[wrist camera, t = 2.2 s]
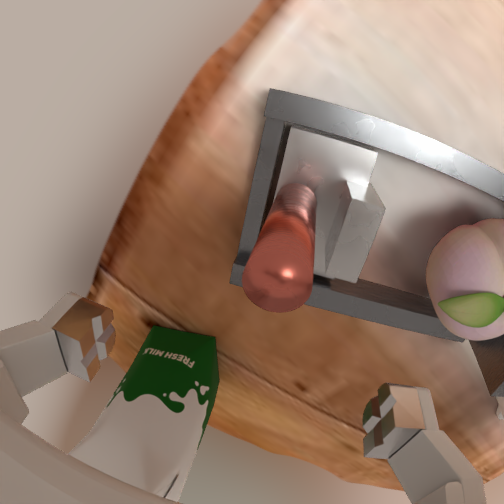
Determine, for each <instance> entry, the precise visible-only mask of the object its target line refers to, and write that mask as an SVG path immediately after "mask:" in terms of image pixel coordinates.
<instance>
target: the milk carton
mask: <svg viewBox="0 0 504 504" xmlns="http://www.w3.org/2000/svg"><path fill="white" fill-rule="evenodd" d="M218 385H219V372H218V361H217V351H216V339H215V337H212V336H206V335H200V334H195V333H189V332H184V331H179V330H174V329H168V328H163V327H159V326H153V327H152V329H151V331H150V333H149V334H148V336H147V338H146V340H145V342H144V343H143V345H142V347H141V349H140V351H139V352H138V354H137V356H136V358H135V360H134V362H133V363H132V365H131V367H130V369H129V370H128V372H127V373H126V375H125V376H124V378H123V380H122V381H121V383H120V384H119V386H118V388H117V389H116V391H115V392H114V394H113V396H112V397H111V399H110V400H109V402H108V404H107V405H106V407H105V409H104V410H103V412H102V414H101V415H100V417H99V418H98V420H97V422H96V423H95V425H94V426H93V428H92V430H91V431H90V432H89V433H88V434H87V435H86V436H85V437H84V438H83V439H82V441H80V442H79V443H78V444H77V446H76V447H75V448H74V449H73V450H71V452H70V453H68V454H69V455H71V456H72V457H74V458H76V459H78V460H80V461H82V462H83V463H85V464H87V465H89V466H91V467H93V468H95V469H97V470H99V471H101V472H103V473H105V474H108V475H110V476H112V477H114V478H116V479H118V480H121V481H123V482H125V483H128V484H130V485H132V486H135V487H137V488H140V489H142V490H145V491H148V492H150V493H153V494H156V495H158V496H161V497H164V498H167V499H170V500H173V501H176V502H178V500H179V498H180V495H181V492H182V490H183V487H184V484H185V482H186V479H187V477H188V474H189V471H190V469H191V466H192V463H193V461H194V458H195V455H196V453H197V450H198V447H199V445H200V442H201V439H202V436H203V434H204V431H205V428H206V425H207V423H208V420H209V417H210V414H211V411H212V409H213V406H214V402H215V398H216V393H217V389H218Z"/></svg>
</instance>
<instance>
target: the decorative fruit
mask: <svg viewBox="0 0 504 504" xmlns="http://www.w3.org/2000/svg"><path fill="white" fill-rule="evenodd" d="M426 284H427V288H428V292H429V295H430V298H431V301H432V304H433V307H434V309H435V312H436V314H437V316H438V318H439V320H440V321H441V323H442V324H443V325H444V326H445V327H446V328H447V329H448V330H449V331H450V332H452V333H453V334H455V335H457V336H459V337H461V338H464V339H468V340H474V341H480V340H488V339H492V338H496V337H498V336H501V335H503V334H504V219H494V218H490V219H484V220H481V221H479V222H477V223H475V224H474V225H460V226H458V227H456V228H454V229H453V230H451V231H450V232H449V233H447V234H446V235H445V236H444V237H443V238H442V239H441V240H440V241H439V242H438V243H437V245H436V246H435V247H434V249H433V250H432V252H431V254H430V256H429V259H428V262H427V267H426Z"/></svg>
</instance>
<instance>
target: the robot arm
mask: <svg viewBox="0 0 504 504" xmlns="http://www.w3.org/2000/svg"><path fill="white" fill-rule="evenodd" d="M113 319H114V317H113V310H111V309H110V308H108V307H105V306H103V305H101V304H98V303H96V302H94V301H91V300H89V299H87V298H84V297H82V296H79V295H77V294H75V293H73V292H70V293H67V294H66V295H64V297H62V298H61V299H60V300H59V302H57V303H56V304H55V305H54V307H52V308H51V309H50V310H49V311H48V312H47V313H46V314H45V315H44V316H43V318H41V319H40V320H39V321H36V320H33V321H30V322H27V323H24V324H21V325H17V326H14V327H11V328H8V329H5V330H2V331H0V504H182V503H179V502H176V501H173V500H170V499H167V498H164V497H161V496H158V495H156V494H153V493H150V492H148V491H145V490H142V489H140V488H137V487H135V486H132V485H130V484H128V483H125V482H123V481H121V480H118V479H116V478H114V477H112V476H110V475H108V474H105V473H103V472H101V471H99V470H97V469H95V468H93V467H91V466H89V465H87V464H85V463H83V462H82V461H80V460H78V459H76V458H74V457H72V456H71V455H69V454H67V453H65V452H63V451H62V450H60V449H58V448H57V447H55V446H53V445H52V444H50V443H48V442H47V441H45V440H44V439H42V438H41V437H39V436H37V435H36V434H34V433H33V432H31V431H30V430H28V429H27V428H26V427H24V426H23V425H21V424H22V423H23V421H24V419H25V418H26V417H27V415H28V413H29V409H28V407H27V405H26V404H25V402H24V400H23V399H22V397H23V396H25V395H27V394H29V393H31V392H32V391H34V390H36V389H38V388H40V387H42V386H44V385H46V384H48V383H50V382H52V381H54V380H56V379H58V378H60V377H61V376H63V375H65V374H67V372H69V373H71V374H73V375H75V376H77V377H79V378H82V379H84V380H86V381H88V382H91V380H92V379H93V377H94V376H95V375H96V373H97V372H98V370H99V369H100V360H102V359H104V358H107V357H108V356H109V354H110V352H111V351H112V348H113V346H114V343H115V336H116V335H115V329H114V327H113V326H112V325H111V322H112V320H113ZM496 399H497V402H498V408H497V411H496V415H497V417H498V419H499V420H502V419H504V397H496ZM363 428H364V429H365V430H366V432H367V433H368V434H367V435H366V436H365V437H364V439H363V443H364V457H369V458H380V459H388V462H389V464H390V466H391V468H392V469H393V471H394V473H395V475H396V476H397V478H398V480H399V482H400V483H401V485H402V487H403V489H404V491H405V492H406V494H407V496H408V498H409V499H410V501H411V503H412V504H486V497H485V491H484V485H483V480H482V477H481V475H480V474H479V473H478V472H477V471H476V469H475V468H474V467H473V466H472V465H471V463H470V462H469V461H468V460H467V458H466V457H465V456H464V455H463V454H462V452H461V451H460V450H459V449H458V448H457V447H456V445H455V444H454V443H453V442H452V441H451V439H450V438H449V437H448V436H447V435H446V433H445V432H444V431H442V430H439V426H438V422H437V417H436V413H435V409H434V404H433V400H432V396H431V393H430V390H429V389H428V388H423V387H413V386H407V385H399V384H392V383H384V384H383V385H381V387H380V388H379V389H378V396H376V397H374V398H372V399H371V400H370V401H369V402H368V404H367V405H366V408H365V410H364V413H363Z"/></svg>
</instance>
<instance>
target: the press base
mask: <svg viewBox="0 0 504 504" xmlns="http://www.w3.org/2000/svg"><path fill="white" fill-rule="evenodd" d="M264 116H266V121H265V126H264V130H263V135H262V140H261V144H260V149H259V154H258V158H257V163H256V168H255V172H254V177H253V182H252V187H251V191H250V196H249V201H248V206H247V211H246V215H245V220H244V225H243V230H242V235H241V240H240V245H239V249H238V254H237V257H236V259H235V261H234V263H233V267H232V273H231V278H230V284H234V285H237V286H241V287H243V285H242V274H243V271H244V269H245V266H246V264H247V262H248V260H249V257H250V255H251V253H252V250H253V248H254V246H255V244H256V241H257V239H258V237H259V234H260V232H261V229H262V225H263V220H264V216H265V212H266V208H267V203H268V199H269V195H270V190H271V186H272V182H273V178H274V173H275V169H276V165H277V160H278V156H279V152H280V148H281V143H282V139H283V135H284V130H285V126H286V122H291V123H295V124H299V125H303V126H307V127H311V128H315V129H318V130H322V131H326V132H329V133H332V134H336V135H339V136H343V137H346V138H349V139H352V140H356V141H359V142H362V143H365V144H368V145H371V146H374V147H377V148H380V149H383V150H386V151H388V152H391V153H394V154H397V155H400V156H402V157H405V158H408V159H410V160H413V161H415V162H418V163H421V164H423V165H426V166H428V167H430V168H433V169H435V170H438V171H440V172H442V173H445V174H447V175H449V176H452V177H454V178H456V179H458V180H461V181H463V182H465V183H467V184H469V185H472V186H474V187H476V188H478V189H480V190H482V191H484V192H486V193H488V194H490V195H492V196H494V197H496V198H498V199H500V200H502V201H504V174H503V173H501V172H499V171H498V170H496V169H494V168H492V167H490V166H488V165H486V164H485V163H483V162H481V161H479V160H477V159H475V158H473V157H471V156H469V155H467V154H465V153H463V152H460V151H458V150H456V149H454V148H452V147H450V146H448V145H445V144H443V143H441V142H439V141H436V140H434V139H432V138H429V137H427V136H424V135H422V134H420V133H417V132H415V131H412V130H410V129H407V128H404V127H402V126H399V125H396V124H394V123H391V122H388V121H385V120H383V119H380V118H377V117H374V116H371V115H368V114H365V113H362V112H359V111H355V110H352V109H349V108H346V107H342V106H339V105H336V104H332V103H328V102H325V101H321V100H317V99H314V98H310V97H306V96H302V95H298V94H293V93H289V92H285V91H280V90H275V89H271V88H270V90H269V94H268V99H267V104H266V108H265V113H264ZM304 304H306V305H309V306H313V307H317V308H321V309H325V310H328V311H332V312H336V313H340V314H344V315H348V316H352V317H356V318H360V319H364V320H368V321H372V322H376V323H380V324H384V325H388V326H392V327H397V328H401V329H405V330H409V331H414V332H418V333H422V334H427V335H431V336H435V337H440V338H444V339H449V340H454V341H458V342H463V341H464V340H465V339H464V338H461V337H459V336H457V335H455V334H453V333H452V332H450V331H449V330H448V329H447V328H446V327H445V326H444V325H443V324H442V323H441V321H440V320H439V318H438V316H437V314H436V312H435V309H434V307H433V304H432V301H431V299H430V298H426V297H422V296H419V295H415V294H412V293H408V292H404V291H401V290H397V289H394V288H390V287H386V286H383V285H379V284H376V283H372V282H369V281H365V280H361V279H358V280H357V282H356V283H353V282H349V281H346V280H342V279H338V278H335V279H331V278H327V277H323V276H320V275H316V274H313V287H312V292H311V295H310V297H309V298H308V300H307V301H306V302H305V303H304ZM469 342H470V344H471V347H472V349H473V351H474V354H475V356H476V359H477V361H478V364H479V366H480V369H481V371H482V374H483V377H484V379H485V382H486V385H487V387H488V390H489V393H490V396H496V397H504V334H503V335H501V336H498V337H496V338H492V339H488V340H480V341H474V340H469Z"/></svg>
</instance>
